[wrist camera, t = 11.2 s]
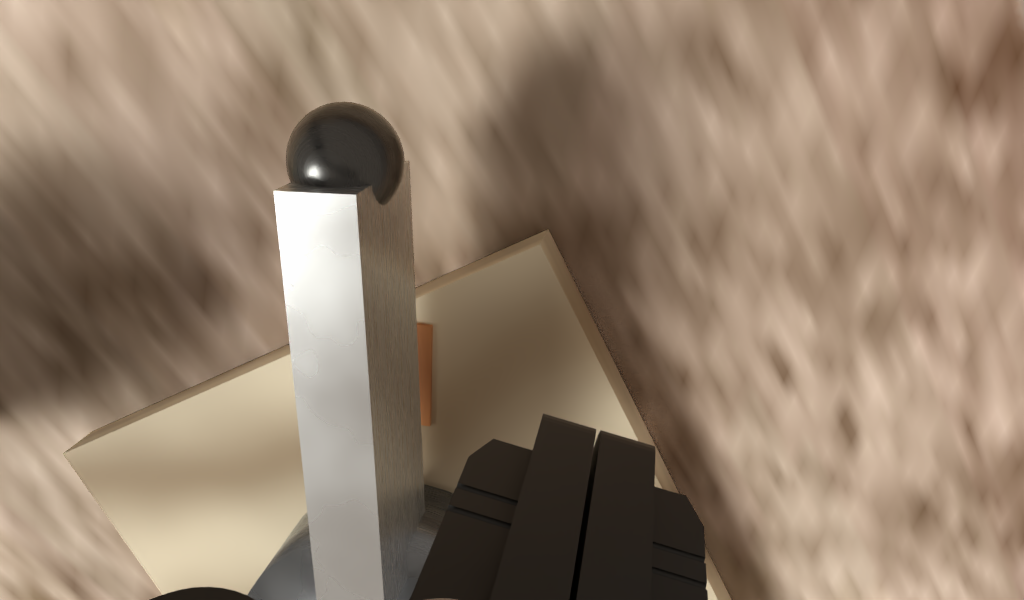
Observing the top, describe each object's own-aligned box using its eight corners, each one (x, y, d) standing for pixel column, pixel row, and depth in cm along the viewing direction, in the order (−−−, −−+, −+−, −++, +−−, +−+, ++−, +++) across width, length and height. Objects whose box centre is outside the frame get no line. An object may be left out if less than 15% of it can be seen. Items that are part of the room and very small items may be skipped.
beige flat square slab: (92, 431, 29) (60, 455, 27) (548, 229, 23) (539, 245, 21) (346, 800, 33) (330, 838, 31) (784, 705, 27) (790, 747, 26)
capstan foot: (550, 728, 27) (525, 871, 23) (295, 687, 29) (226, 814, 24) (563, 91, 20) (531, 119, 15) (222, 84, 21) (103, 107, 17)
